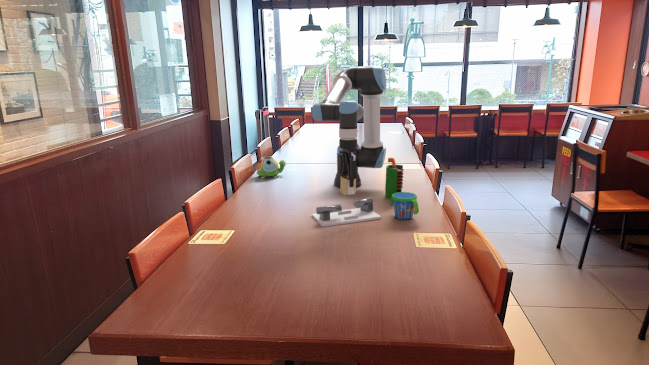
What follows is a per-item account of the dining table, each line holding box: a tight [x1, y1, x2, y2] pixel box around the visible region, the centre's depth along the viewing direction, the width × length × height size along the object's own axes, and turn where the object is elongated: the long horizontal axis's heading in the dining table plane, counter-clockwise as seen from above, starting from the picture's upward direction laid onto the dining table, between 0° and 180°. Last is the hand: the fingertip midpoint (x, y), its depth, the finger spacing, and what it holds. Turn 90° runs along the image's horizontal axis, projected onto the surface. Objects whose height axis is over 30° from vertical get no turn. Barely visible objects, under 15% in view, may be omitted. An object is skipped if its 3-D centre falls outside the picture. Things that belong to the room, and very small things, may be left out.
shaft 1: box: [315, 204, 343, 221], centre depth 181 cm, size 10×5×6 cm, turn 110°
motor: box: [384, 157, 404, 200], centre depth 213 cm, size 10×9×20 cm
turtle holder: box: [256, 156, 286, 180], centre depth 257 cm, size 12×18×12 cm
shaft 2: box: [353, 197, 374, 212], centre depth 190 cm, size 9×5×6 cm, turn 130°
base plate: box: [311, 207, 382, 228], centre depth 186 cm, size 14×27×2 cm, turn 110°
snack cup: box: [389, 191, 419, 220], centre depth 184 cm, size 16×10×10 cm
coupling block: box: [340, 176, 357, 196], centre depth 181 cm, size 5×5×7 cm
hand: (348, 192), depth 182 cm, fingers closed on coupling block, 5 cm apart
